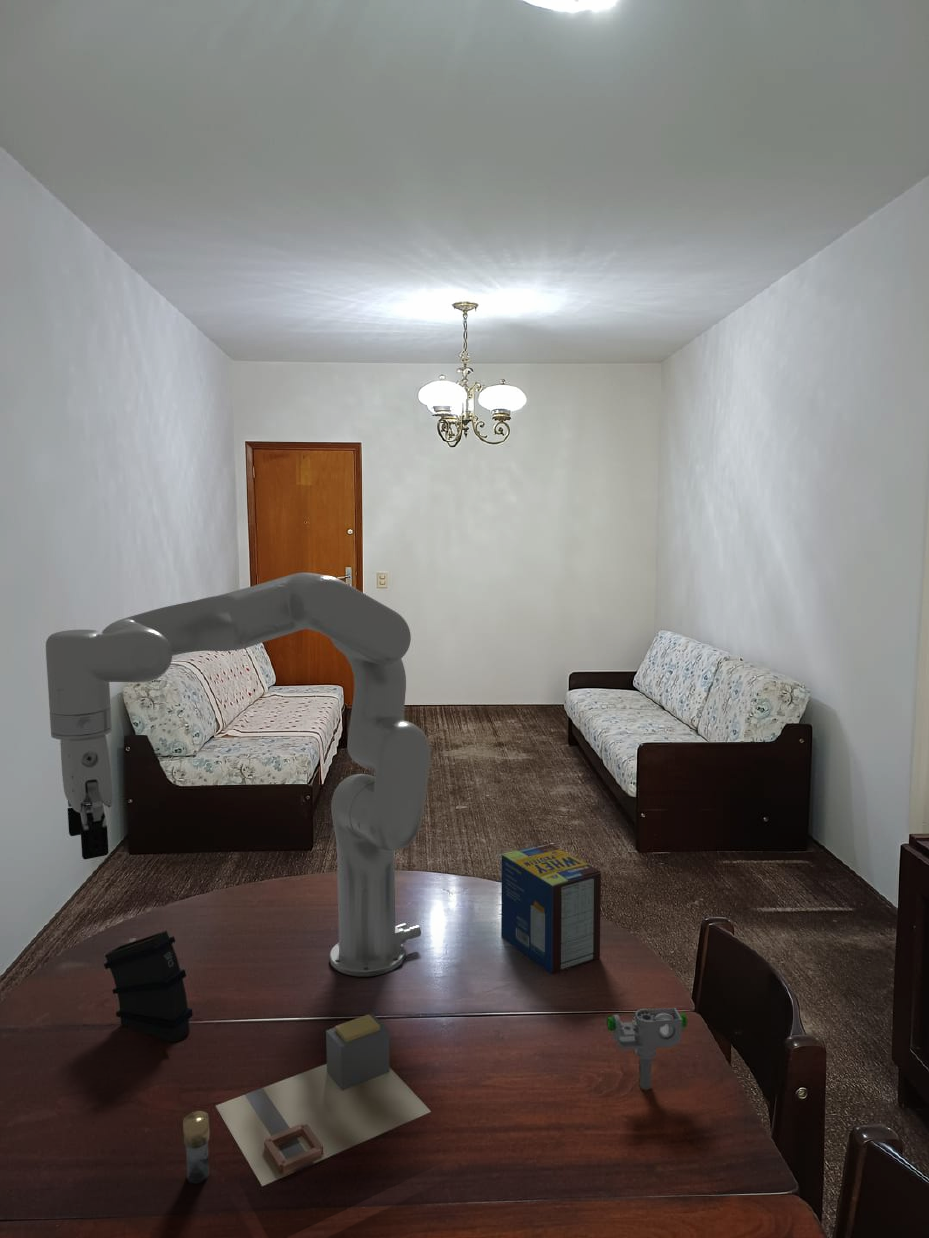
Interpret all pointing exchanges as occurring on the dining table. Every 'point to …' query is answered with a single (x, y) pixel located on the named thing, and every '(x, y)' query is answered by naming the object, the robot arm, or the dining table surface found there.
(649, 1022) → the mechanical component
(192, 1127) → the gold capped bottle
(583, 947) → the protein box
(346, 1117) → the board
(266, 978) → the dining table surface
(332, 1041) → the grey boxy piece
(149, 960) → the magazine
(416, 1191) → the dining table surface
